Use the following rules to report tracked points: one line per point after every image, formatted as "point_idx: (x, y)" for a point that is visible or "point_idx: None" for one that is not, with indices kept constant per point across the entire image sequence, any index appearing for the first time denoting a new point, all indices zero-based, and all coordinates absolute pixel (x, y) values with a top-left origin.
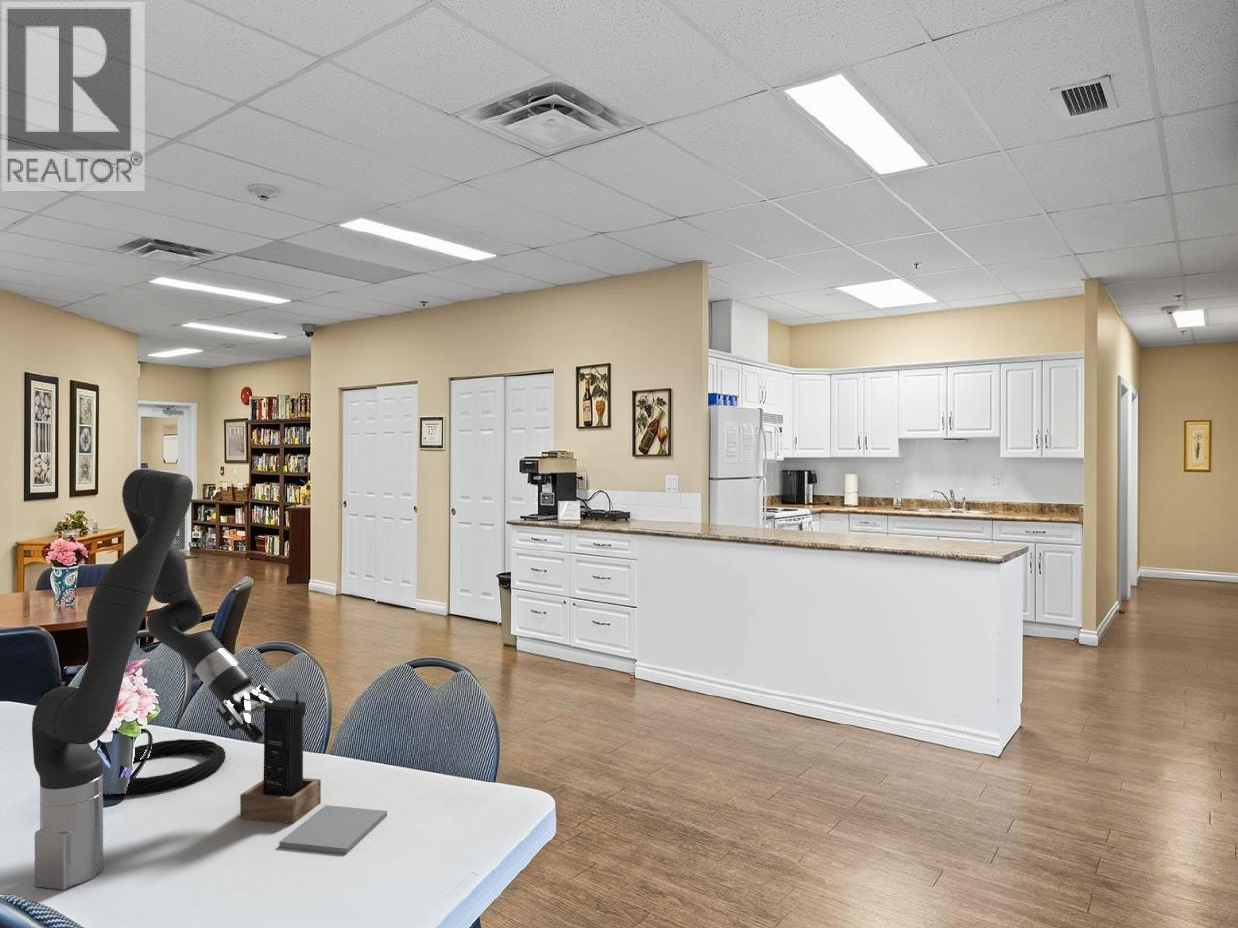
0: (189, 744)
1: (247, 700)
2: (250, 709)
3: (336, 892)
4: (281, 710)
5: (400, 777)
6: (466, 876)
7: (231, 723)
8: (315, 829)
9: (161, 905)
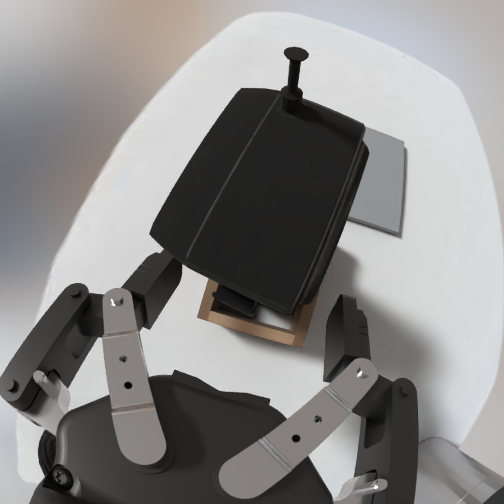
0: (50, 467)
1: (273, 450)
2: (317, 394)
3: (460, 150)
4: (361, 176)
5: (159, 122)
6: (409, 61)
7: (377, 429)
8: (360, 188)
9: (492, 321)
